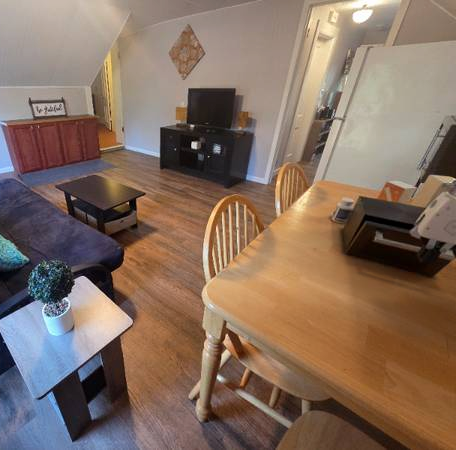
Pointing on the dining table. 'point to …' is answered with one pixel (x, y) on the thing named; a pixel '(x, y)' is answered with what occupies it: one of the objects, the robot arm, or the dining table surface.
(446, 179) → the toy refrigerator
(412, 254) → the oven door
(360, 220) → the oven
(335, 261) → the dining table surface
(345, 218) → the pill bottle
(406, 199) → the small box
